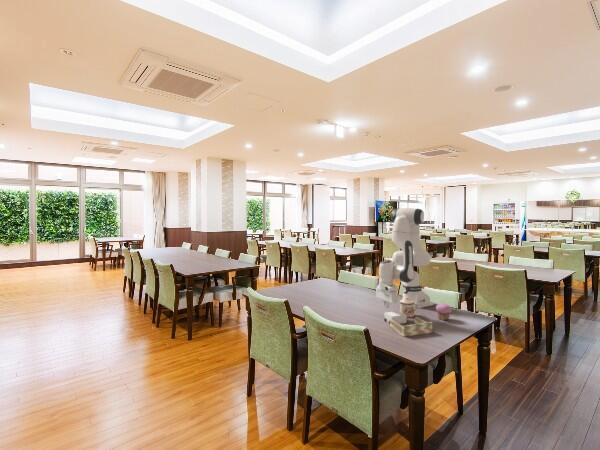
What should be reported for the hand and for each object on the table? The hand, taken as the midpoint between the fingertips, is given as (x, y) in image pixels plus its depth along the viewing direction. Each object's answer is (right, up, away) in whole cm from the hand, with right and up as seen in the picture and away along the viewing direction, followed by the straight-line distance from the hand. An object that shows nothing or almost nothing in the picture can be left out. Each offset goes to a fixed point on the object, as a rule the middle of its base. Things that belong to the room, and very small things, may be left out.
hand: (386, 307), depth 202 cm
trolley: (+3, -6, -9) cm, 12 cm away
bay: (+7, -7, -23) cm, 25 cm away
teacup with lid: (+15, -6, +2) cm, 17 cm away
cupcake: (+34, -6, -7) cm, 35 cm away
